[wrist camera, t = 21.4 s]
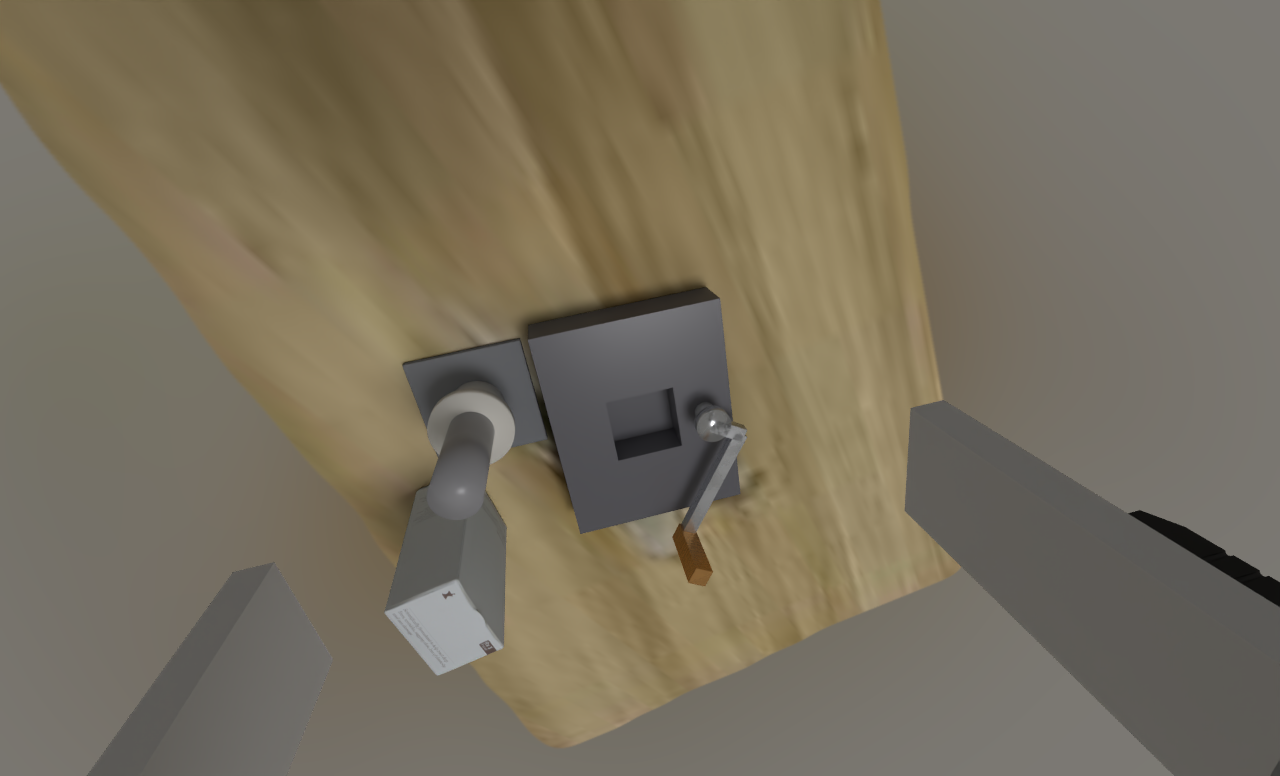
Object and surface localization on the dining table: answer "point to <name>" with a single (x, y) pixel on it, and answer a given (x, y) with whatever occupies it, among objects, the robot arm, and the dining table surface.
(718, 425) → the clip
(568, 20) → the dining table surface
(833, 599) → the dining table surface
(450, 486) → the plug
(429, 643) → the skincare box
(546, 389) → the socket block
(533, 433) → the pad
